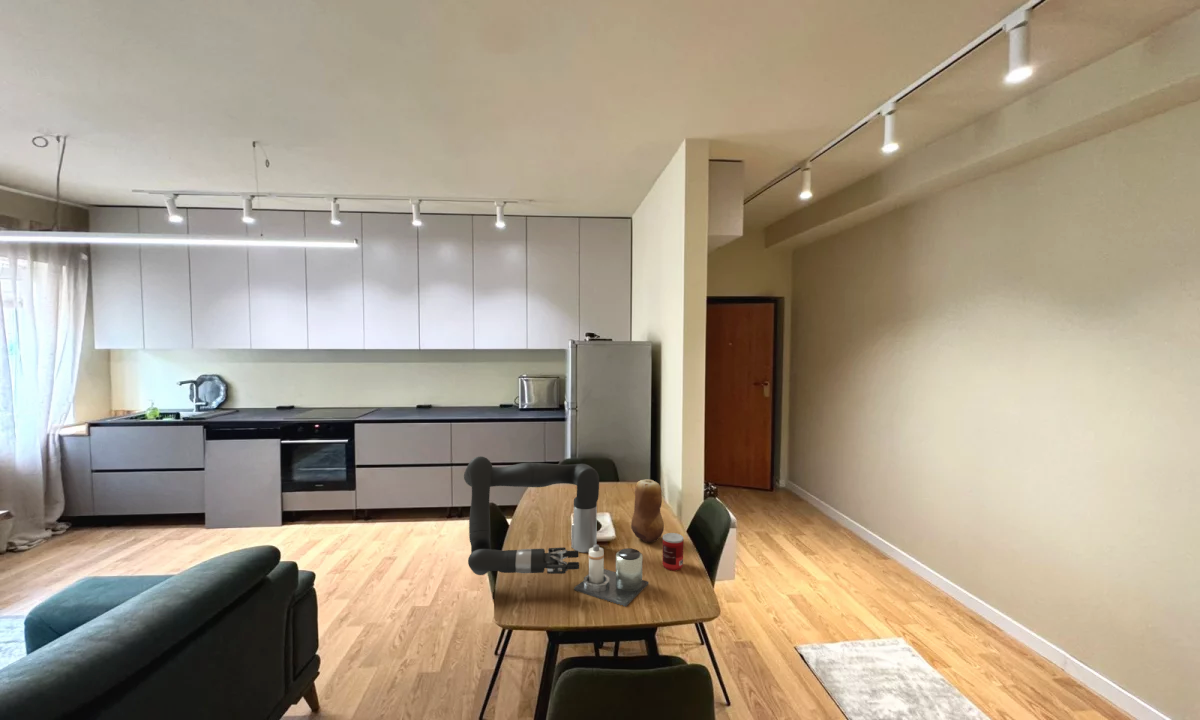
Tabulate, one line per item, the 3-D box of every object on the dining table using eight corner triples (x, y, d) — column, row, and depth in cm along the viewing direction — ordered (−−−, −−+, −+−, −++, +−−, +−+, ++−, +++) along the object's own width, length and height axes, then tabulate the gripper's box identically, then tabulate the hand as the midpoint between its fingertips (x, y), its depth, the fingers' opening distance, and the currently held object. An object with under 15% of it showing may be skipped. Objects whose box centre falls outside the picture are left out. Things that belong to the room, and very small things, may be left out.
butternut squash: (668, 538, 207) (669, 479, 206) (655, 549, 196) (656, 488, 195) (639, 531, 214) (639, 474, 213) (624, 542, 203) (625, 482, 202)
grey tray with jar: (574, 590, 164) (574, 556, 164) (599, 569, 179) (600, 538, 178) (625, 606, 154) (626, 570, 154) (648, 583, 169) (648, 550, 168)
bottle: (585, 586, 165) (585, 546, 165) (593, 579, 170) (593, 541, 169) (598, 590, 163) (598, 550, 162) (606, 583, 167) (606, 544, 167)
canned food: (680, 561, 186) (681, 532, 186) (685, 571, 178) (685, 541, 178) (660, 561, 186) (661, 532, 186) (664, 571, 178) (664, 541, 178)
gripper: (528, 559, 157) (579, 558, 158) (531, 540, 171) (578, 539, 172) (528, 582, 157) (579, 581, 158) (531, 562, 171) (578, 560, 173)
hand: (578, 559), depth 165 cm, fingers open, 8 cm apart
